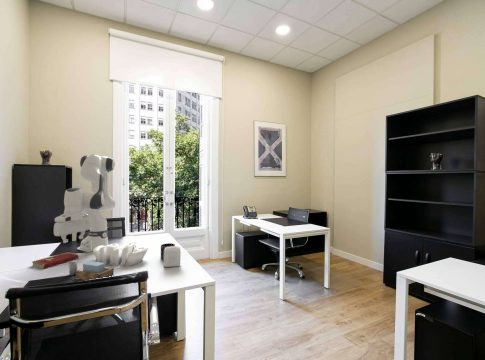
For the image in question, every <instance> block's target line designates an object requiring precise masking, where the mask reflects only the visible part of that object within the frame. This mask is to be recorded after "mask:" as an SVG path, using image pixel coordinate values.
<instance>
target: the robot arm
mask: <svg viewBox="0 0 485 360" xmlns="http://www.w3.org/2000/svg"><path fill="white" fill-rule="evenodd" d="M79 166H80V176H81V177H82V178H83V179H84V180H85V181H87V182H90V183H91V186H90V189H91V191H92V192H83V191H82V188H81V187H70V188H68V189H67V188H66V189H65V192H64V197H63V198H64V199H63V205H64V211H63V213H62V214H60V215H58V216H56V217H55V218H54V225H53V235H54V237H61V239H62V242H63V244H67V243H69V239H67V236H68V235H72V234H75V233H80V235H78V239H79V240H81V241H80V246H78V247H76V250H79V251H81V252H86V253H93V249H94V248H96V247H98V246H100V245H104V246H107V245H110V244H109V238H108V221H107V218H106V217H104V216H102V214H101V213H103V212H108V211H112V210H113V209H115V208H116V200H115V199H114V198H113V197H112V196H111V194H110V191H109V173H110V172H111V171H113V170H115V169H114V168H115V166H116V162H115V159H114V157H111V156H103V155H97V154H90V155H83V156H82V157H81V158H80V160H79ZM88 230H89V231H88ZM86 231H87V236H86V237H85V238H84V235H85V234H86Z"/></svg>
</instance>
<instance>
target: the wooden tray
mask: <svg viewBox="0 0 485 360" xmlns="http://www.w3.org/2000/svg"><path fill="white" fill-rule="evenodd" d="M114 270H115V269H114V267H108V266H105V271H104V272H102V273H93V272H87V271H83V270H80V269H77V271H76V274H75V279H76V278H80V279H82V280H81V281H85V280H89V279H96V278H103V277H109V276H112V275H113V276H114Z"/></svg>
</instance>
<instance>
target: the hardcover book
mask: <svg viewBox="0 0 485 360" xmlns="http://www.w3.org/2000/svg"><path fill="white" fill-rule="evenodd" d="M78 259H80V256H79V254H78V253H73V252H64V253H59V254H55V255H52V256H48V257H45V258H41V259H40V258H39V259H36V260H31V263H32V266H33V267H35V266H37V267H36V268H39V267H40V268H39V269H42V270H45V269H48V267H49V268H51V267H55V266H58V265H60V264H65V263H67V262H70V261H76V260H78Z"/></svg>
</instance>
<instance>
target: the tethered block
mask: <svg viewBox="0 0 485 360" xmlns="http://www.w3.org/2000/svg"><path fill="white" fill-rule="evenodd" d="M68 262H69V268H68V269H69V271H68V272H69V273H68V274H69V276H74V274H75V275H76V271H77V270H78V260H72V261H68ZM105 267H106V265H105V263H101V262H97V261H93V260H91V261H88V262H85V263H82V271H87V272H93V273H102V272H104V271H105Z"/></svg>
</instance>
